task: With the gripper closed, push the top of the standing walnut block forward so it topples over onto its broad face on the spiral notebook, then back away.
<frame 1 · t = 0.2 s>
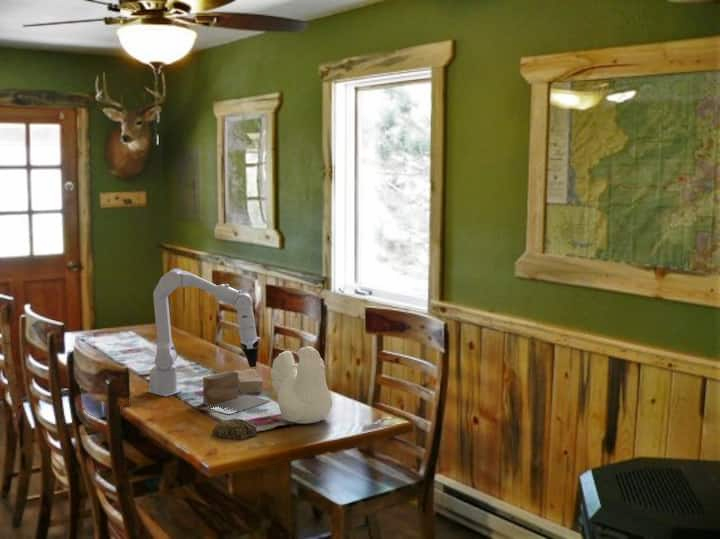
hand: (252, 364, 278), 11 cm above the table, tool pointing down, fingers open, 7 cm apart
spiral notebook: (238, 404, 265), on the table
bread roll: (236, 435, 237), on the table
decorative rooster: (299, 418, 254), on the table
brick: (248, 387, 289), on the table
block: (220, 400, 270), on the table
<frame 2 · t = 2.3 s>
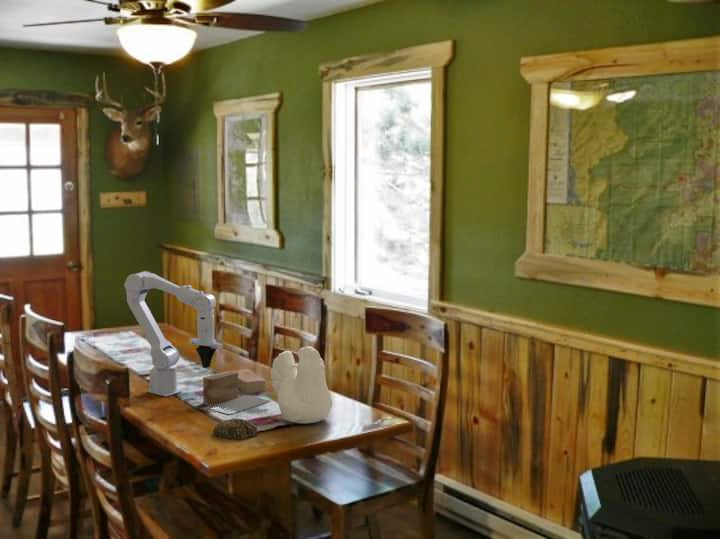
hand: (206, 367, 273), 10 cm above the table, tool pointing down, fingers closed
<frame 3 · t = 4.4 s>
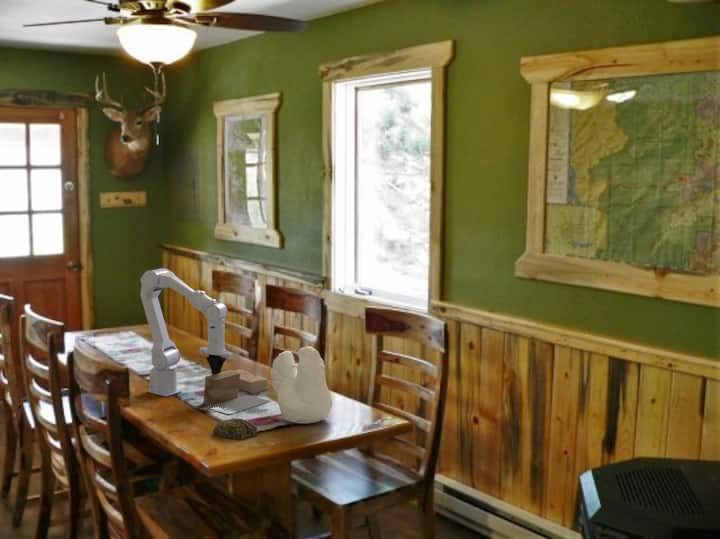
hand: (216, 376, 271), 8 cm above the table, tool pointing down, fingers closed
block: (220, 399, 270), on the table, tilted 7°, touching gripper
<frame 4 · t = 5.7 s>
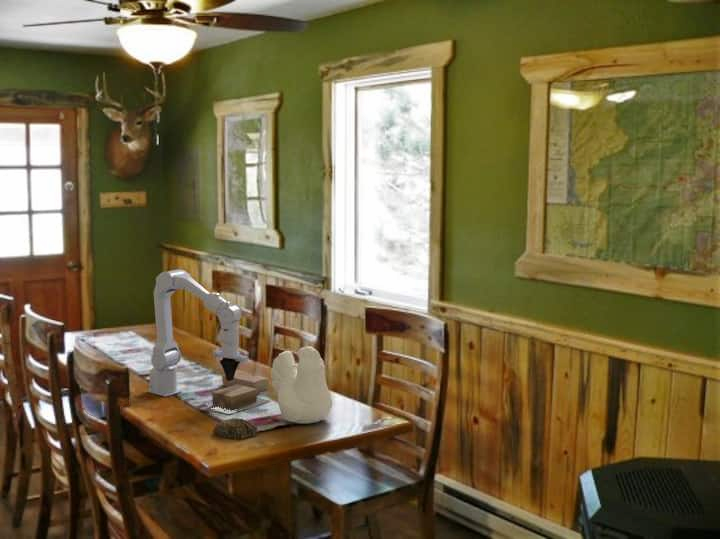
hand: (229, 380, 267), 8 cm above the table, tool pointing down, fingers closed
block: (225, 394, 269), point 2 cm above the table, tilted 90°, touching spiral notebook
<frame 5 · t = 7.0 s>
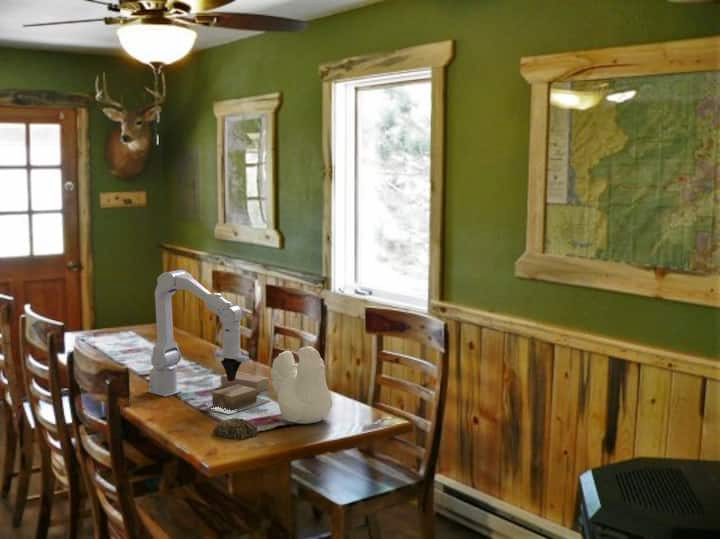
hand: (231, 380, 266), 8 cm above the table, tool pointing down, fingers closed
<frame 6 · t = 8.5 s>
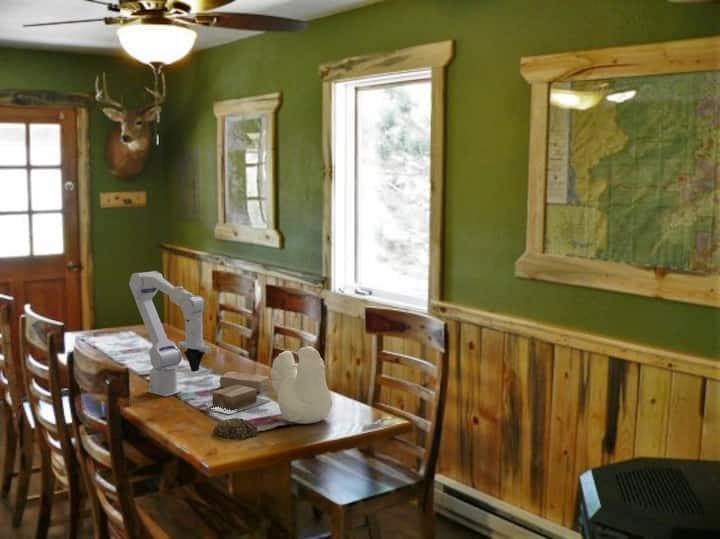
hand: (194, 371, 268), 10 cm above the table, tool pointing down, fingers closed
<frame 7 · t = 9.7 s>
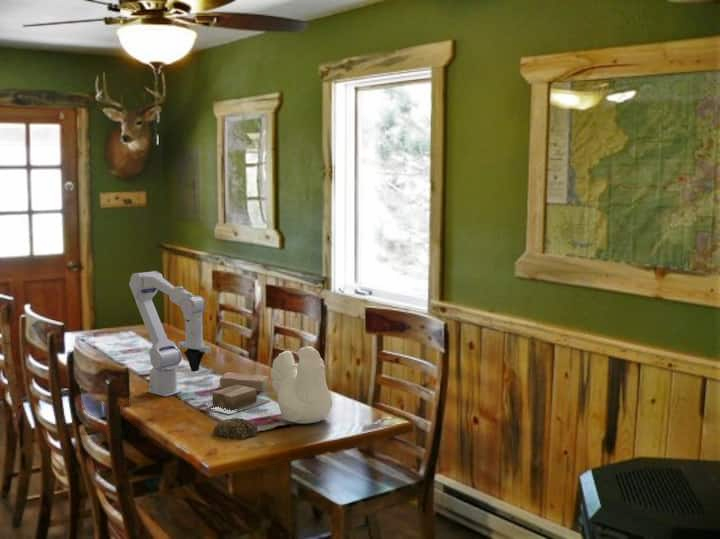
hand: (194, 371, 268), 10 cm above the table, tool pointing down, fingers closed
at the end: block tilted 90°; block inside the target area (6.4 cm from its centre), point 2.4 cm above the table; block moved 3.3 cm from its start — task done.
